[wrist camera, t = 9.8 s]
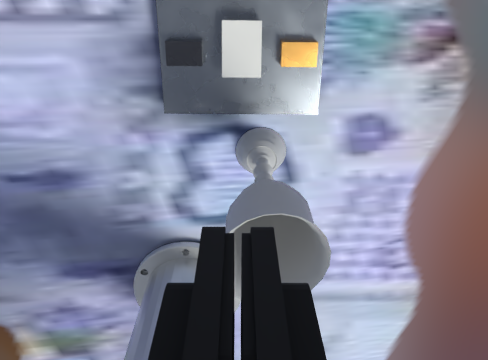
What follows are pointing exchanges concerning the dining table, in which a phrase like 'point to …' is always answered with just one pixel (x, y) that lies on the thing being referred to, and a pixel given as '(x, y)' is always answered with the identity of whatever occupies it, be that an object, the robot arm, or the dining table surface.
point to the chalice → (276, 213)
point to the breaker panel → (272, 57)
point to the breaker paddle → (241, 48)
